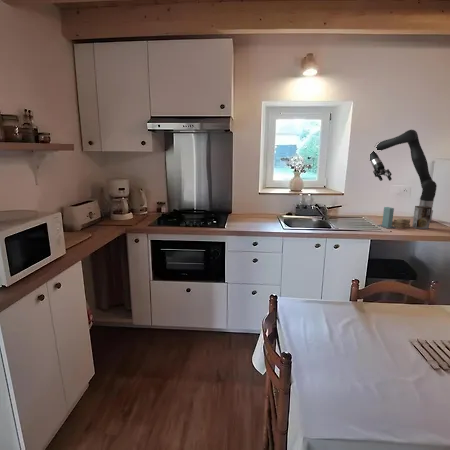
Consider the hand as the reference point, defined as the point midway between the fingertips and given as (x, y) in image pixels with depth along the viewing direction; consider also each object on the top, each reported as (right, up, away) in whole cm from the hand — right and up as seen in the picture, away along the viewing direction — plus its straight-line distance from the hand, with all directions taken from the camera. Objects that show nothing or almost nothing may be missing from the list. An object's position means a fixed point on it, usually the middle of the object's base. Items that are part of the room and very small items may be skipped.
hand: (386, 180), depth 258 cm
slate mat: (-7, -37, -15) cm, 41 cm away
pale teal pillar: (-7, -37, -15) cm, 40 cm away
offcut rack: (+3, -36, -11) cm, 38 cm away
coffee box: (+17, -38, -18) cm, 45 cm away
